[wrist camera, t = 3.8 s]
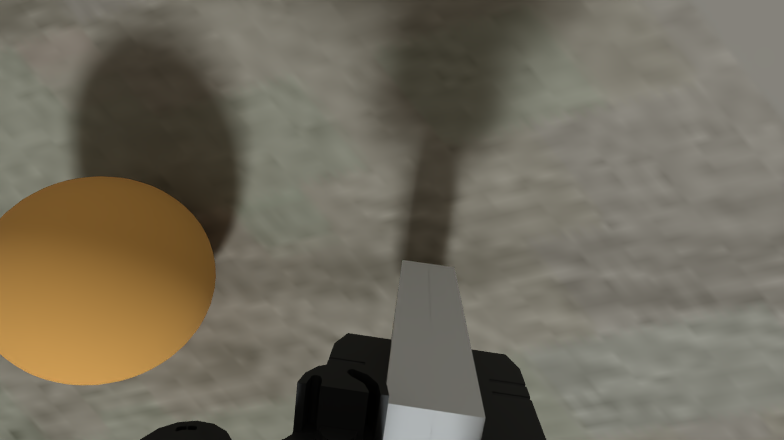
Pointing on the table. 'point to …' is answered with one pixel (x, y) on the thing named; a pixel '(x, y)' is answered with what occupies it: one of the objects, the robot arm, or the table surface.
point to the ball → (100, 280)
